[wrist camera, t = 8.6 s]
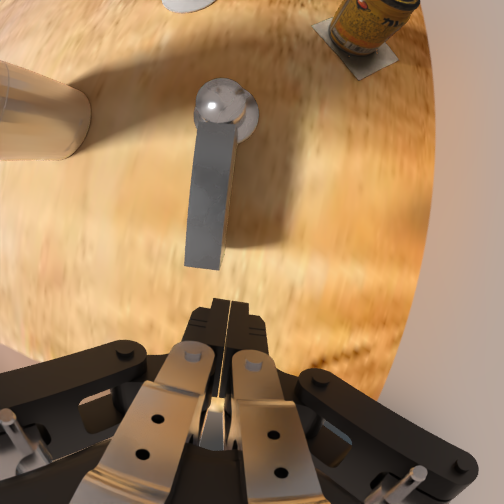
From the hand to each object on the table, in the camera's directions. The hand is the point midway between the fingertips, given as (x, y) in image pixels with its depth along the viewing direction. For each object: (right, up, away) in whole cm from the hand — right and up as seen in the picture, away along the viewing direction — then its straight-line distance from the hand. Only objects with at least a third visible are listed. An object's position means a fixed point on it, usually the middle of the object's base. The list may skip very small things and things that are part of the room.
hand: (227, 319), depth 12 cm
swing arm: (-2, +10, +14) cm, 18 cm away
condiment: (+13, +27, +12) cm, 32 cm away
